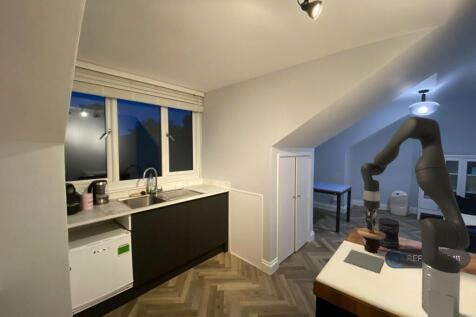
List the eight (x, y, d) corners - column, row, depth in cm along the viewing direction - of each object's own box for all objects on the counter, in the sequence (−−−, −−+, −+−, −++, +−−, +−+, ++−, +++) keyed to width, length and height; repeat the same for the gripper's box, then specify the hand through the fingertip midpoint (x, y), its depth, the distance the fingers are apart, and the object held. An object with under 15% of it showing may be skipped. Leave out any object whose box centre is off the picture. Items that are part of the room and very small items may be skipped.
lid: (383, 241, 102) (383, 231, 102) (355, 234, 111) (355, 225, 111) (387, 233, 111) (387, 224, 111) (360, 227, 120) (360, 218, 120)
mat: (378, 273, 92) (378, 272, 92) (343, 261, 103) (343, 260, 103) (383, 259, 103) (383, 259, 103) (351, 250, 113) (351, 249, 113)
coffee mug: (362, 245, 119) (362, 228, 118) (379, 248, 114) (379, 231, 114) (362, 254, 109) (362, 236, 108) (381, 258, 104) (381, 239, 104)
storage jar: (400, 251, 111) (400, 225, 110) (378, 247, 116) (378, 222, 115) (397, 244, 119) (397, 219, 118) (377, 240, 124) (377, 217, 124)
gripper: (377, 202, 102) (377, 233, 103) (382, 197, 113) (381, 225, 113) (360, 200, 108) (360, 229, 108) (366, 195, 118) (366, 222, 119)
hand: (371, 227), depth 111 cm, fingers open, 8 cm apart
